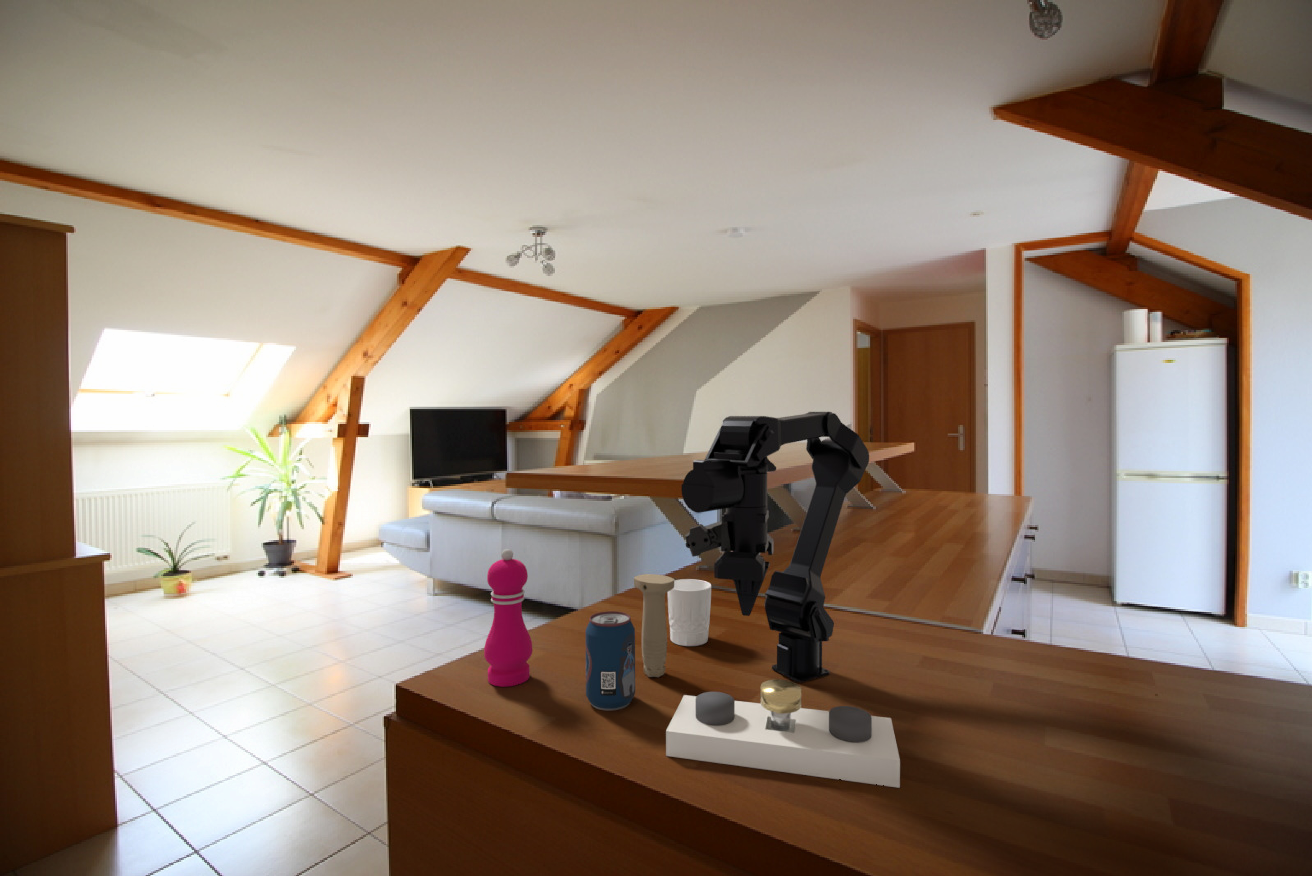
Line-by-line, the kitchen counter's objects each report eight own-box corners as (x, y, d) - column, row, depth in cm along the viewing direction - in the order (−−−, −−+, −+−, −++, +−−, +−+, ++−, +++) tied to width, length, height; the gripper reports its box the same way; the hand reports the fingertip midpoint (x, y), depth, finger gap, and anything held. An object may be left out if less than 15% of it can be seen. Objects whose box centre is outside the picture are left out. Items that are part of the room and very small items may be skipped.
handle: (662, 684, 96) (661, 585, 95) (628, 674, 100) (628, 578, 99) (680, 674, 100) (679, 578, 99) (647, 664, 104) (646, 572, 103)
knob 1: (736, 730, 81) (736, 694, 81) (731, 749, 77) (731, 711, 76) (699, 725, 82) (699, 689, 82) (692, 744, 78) (692, 706, 78)
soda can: (589, 690, 94) (588, 609, 94) (636, 691, 94) (636, 609, 93) (582, 712, 87) (581, 625, 87) (633, 713, 87) (633, 625, 86)
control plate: (890, 742, 79) (890, 718, 79) (899, 787, 69) (899, 760, 69) (684, 717, 86) (684, 695, 86) (666, 755, 76) (666, 730, 76)
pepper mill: (542, 673, 100) (540, 546, 99) (513, 692, 94) (511, 556, 93) (504, 666, 103) (503, 542, 102) (474, 683, 97) (472, 551, 96)
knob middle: (801, 719, 79) (802, 681, 79) (800, 738, 74) (800, 698, 74) (762, 714, 80) (762, 677, 80) (758, 733, 76) (758, 693, 76)
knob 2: (869, 746, 77) (870, 708, 77) (872, 768, 73) (873, 727, 72) (828, 741, 78) (828, 703, 78) (828, 762, 74) (829, 722, 74)
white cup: (660, 644, 113) (660, 588, 112) (676, 630, 120) (676, 577, 120) (703, 650, 110) (703, 592, 110) (716, 635, 117) (716, 581, 117)
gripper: (702, 495, 101) (702, 593, 102) (675, 512, 83) (675, 631, 84) (774, 497, 98) (773, 598, 99) (762, 516, 80) (761, 639, 81)
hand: (746, 615), depth 91 cm, fingers closed
